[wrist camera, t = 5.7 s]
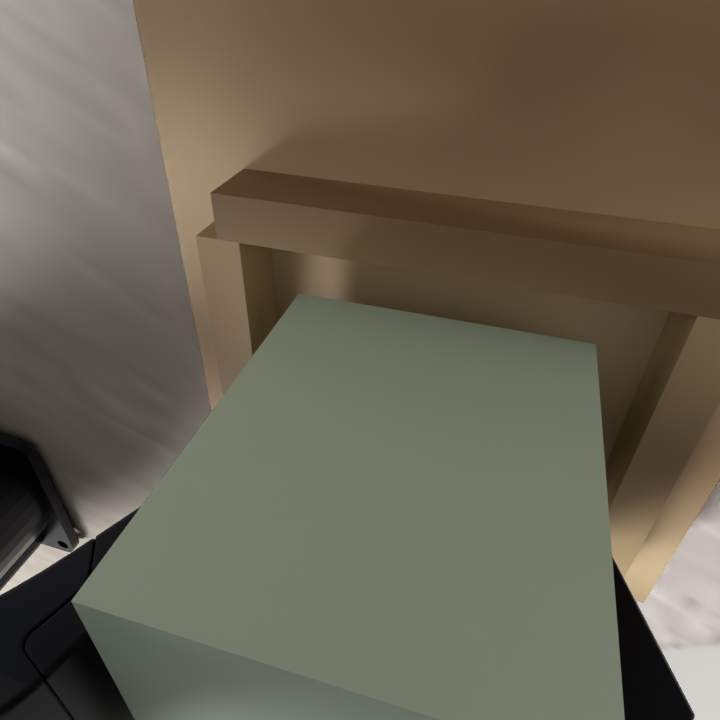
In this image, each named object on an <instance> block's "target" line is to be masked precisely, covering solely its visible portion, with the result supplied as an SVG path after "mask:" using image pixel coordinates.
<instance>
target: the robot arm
mask: <svg viewBox="0 0 720 720" xmlns="http://www.w3.org/2000/svg"><path fill="white" fill-rule="evenodd" d="M139 509H140V507H139V508H138V509H136V510H135V511H133V512H132V513H130V514H129V515H127V516H126V517H124V518H123V519H121V520H120V521H118V522H117V523H115V524H114V525H112V526H111V527H109V528H108V529H106V530H105V531H103V532H102V533H100V534H99V535H97V536H96V540H95V539H91V540H90V541H88V542H87V543H85V544H84V545H82V546H81V547H79V548H78V549H76V550H75V551H73V550H74V548H75V547H76V546H77V545H78V543H79V539H78V537H77V535H76V533H75V531H74V529H73V527H72V525H71V523H70V520H69V518H68V516H67V514H66V512H65V510H64V508H63V506H62V504H61V502H60V499H59V497H58V495H57V493H56V491H55V489H54V487H53V485H52V483H51V481H50V478H49V476H48V474H47V472H46V470H45V468H44V466H43V464H42V462H41V460H40V457H39V455H38V453H37V452H36V450H35V449H34V448H33V447H32V446H31V445H30V444H28V443H27V442H25V441H22V440H19V439H15V438H11V437H7V436H4V435H0V590H1V589H2V588H3V587H4V586H5V585H6V583H7V582H8V581H9V580H10V579H11V578H12V577H13V575H14V574H15V573H16V572H17V571H18V570H19V568H20V567H21V566H22V565H23V564H24V563H25V562H26V560H27V559H28V558H29V557H30V556H31V555H32V553H33V552H34V551H35V550H36V549H37V548H38V547H39V545H40V544H45V545H48V546H51V547H54V548H57V549H61V550H64V551H67V552H72V551H73V552H72V553H70V554H68V555H67V556H65V557H64V558H62V559H61V560H59V561H57V562H56V563H54V564H53V565H51V566H50V567H48V568H46V569H45V570H43V571H42V572H40V573H38V574H36V575H35V576H33V577H31V578H30V579H28V580H26V581H24V582H23V583H21V584H19V585H18V586H16V587H14V588H12V589H11V590H9V591H7V592H5V593H4V594H2V595H0V720H135V719H134V717H133V715H132V713H131V712H130V710H129V708H128V706H127V704H126V702H125V700H124V699H123V697H122V695H121V693H120V691H119V689H118V688H117V686H116V684H115V682H114V680H113V678H112V676H111V675H110V673H109V671H108V669H107V667H106V665H105V663H104V662H103V660H102V658H101V656H100V654H99V652H98V650H97V649H96V647H95V645H94V643H93V641H92V639H91V637H90V636H89V634H88V632H87V630H86V628H85V626H84V624H83V623H82V621H81V619H80V617H79V615H78V613H77V611H76V610H75V608H74V606H73V604H72V602H71V601H72V599H73V598H74V596H75V595H76V594H77V592H78V591H79V590H80V588H81V587H82V586H83V584H84V583H85V582H86V580H87V579H88V578H89V576H90V575H91V574H92V572H93V571H94V569H95V568H96V567H97V565H98V564H99V563H100V561H101V560H102V559H103V557H104V556H105V555H106V553H107V552H108V551H109V549H110V548H111V546H112V545H113V544H114V542H115V541H116V540H117V538H118V537H119V536H120V534H121V533H122V532H123V530H124V529H125V528H126V526H127V525H128V524H129V522H130V521H131V519H132V518H133V517H134V515H135V514H136V513H137V511H138V510H139ZM612 560H613V573H614V586H615V599H616V612H617V625H618V638H619V651H620V664H621V677H622V690H623V703H624V716H625V720H693V719H694V713H693V711H692V709H691V707H690V705H689V703H688V701H687V699H686V698H685V695H684V693H683V691H682V689H681V688H680V686H679V684H678V682H677V680H676V678H675V676H674V674H673V672H672V670H671V668H670V666H669V664H668V663H667V661H666V659H665V657H664V655H663V653H662V651H661V649H660V647H659V645H658V643H657V641H656V639H655V637H654V635H653V633H652V632H651V630H650V628H649V626H648V624H647V622H646V620H645V618H644V616H643V614H642V612H641V610H640V608H639V606H638V605H637V603H636V601H635V599H634V597H633V595H632V593H631V591H630V589H629V587H628V585H627V583H626V581H625V579H624V577H623V576H622V574H621V572H620V570H619V568H618V566H617V564H616V562H615V560H614V558H613V556H612Z"/></svg>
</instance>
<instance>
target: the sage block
mask: <svg viewBox="0 0 720 720" xmlns="http://www.w3.org/2000/svg"><path fill="white" fill-rule="evenodd" d="M71 602H72V604H73V606H74V608H75V610H76V611H77V613H78V615H79V617H80V619H81V621H82V623H83V624H84V626H85V628H86V630H87V632H88V634H89V636H90V637H91V639H92V641H93V643H94V645H95V647H96V649H97V650H98V652H99V654H100V656H101V658H102V660H103V662H104V663H105V665H106V667H107V669H108V671H109V673H110V675H111V676H112V678H113V680H114V682H115V684H116V686H117V688H118V689H119V691H120V693H121V695H122V697H123V699H124V700H125V702H126V704H127V706H128V708H129V710H130V712H131V713H132V715H133V717H134V719H135V720H625V716H624V703H623V690H622V677H621V664H620V651H619V638H618V625H617V612H616V599H615V586H614V573H613V560H612V547H611V534H610V521H609V508H608V495H607V482H606V469H605V456H604V443H603V430H602V417H601V404H600V391H599V378H598V365H597V352H596V344H593V343H587V342H581V341H576V340H570V339H564V338H558V337H552V336H546V335H540V334H535V333H529V332H523V331H517V330H511V329H505V328H500V327H494V326H488V325H482V324H476V323H470V322H465V321H459V320H453V319H447V318H441V317H435V316H430V315H424V314H418V313H412V312H406V311H400V310H394V309H389V308H383V307H377V306H371V305H365V304H359V303H354V302H348V301H342V300H336V299H330V298H324V297H319V296H313V295H307V294H301V293H299V294H298V295H297V297H296V298H295V299H294V301H293V302H292V303H291V305H290V306H289V307H288V309H287V310H286V311H285V313H284V314H283V316H282V317H281V318H280V320H279V321H278V322H277V324H276V325H275V326H274V328H273V329H272V330H271V332H270V333H269V334H268V336H267V337H266V338H265V340H264V341H263V343H262V344H261V345H260V347H259V348H258V349H257V351H256V352H255V353H254V355H253V356H252V357H251V359H250V360H249V361H248V363H247V364H246V366H245V367H244V368H243V370H242V371H241V372H240V374H239V375H238V376H237V378H236V379H235V380H234V382H233V383H232V384H231V386H230V387H229V388H228V390H227V391H226V393H225V394H224V395H223V397H222V398H221V399H220V401H219V402H218V403H217V405H216V406H215V407H214V409H213V410H212V411H211V413H210V414H209V415H208V417H207V418H206V420H205V421H204V422H203V424H202V425H201V426H200V428H199V429H198V430H197V432H196V433H195V434H194V436H193V437H192V438H191V440H190V441H189V442H188V444H187V445H186V447H185V448H184V449H183V451H182V452H181V453H180V455H179V456H178V457H177V459H176V460H175V461H174V463H173V464H172V465H171V467H170V468H169V470H168V471H167V472H166V474H165V475H164V476H163V478H162V479H161V480H160V482H159V483H158V484H157V486H156V487H155V488H154V490H153V491H152V492H151V494H150V495H149V497H148V498H147V499H146V501H145V502H144V503H143V505H142V506H141V507H140V509H139V510H138V511H137V513H136V514H135V515H134V517H133V518H132V519H131V521H130V522H129V524H128V525H127V526H126V528H125V529H124V530H123V532H122V533H121V534H120V536H119V537H118V538H117V540H116V541H115V542H114V544H113V545H112V546H111V548H110V549H109V551H108V552H107V553H106V555H105V556H104V557H103V559H102V560H101V561H100V563H99V564H98V565H97V567H96V568H95V569H94V571H93V572H92V574H91V575H90V576H89V578H88V579H87V580H86V582H85V583H84V584H83V586H82V587H81V588H80V590H79V591H78V592H77V594H76V595H75V596H74V598H73V599H72V601H71Z"/></svg>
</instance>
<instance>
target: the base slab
mask: <svg viewBox="0 0 720 720" xmlns="http://www.w3.org/2000/svg"><path fill="white" fill-rule="evenodd" d="M133 4H134V9H135V15H136V20H137V25H138V30H139V35H140V41H141V46H142V51H143V56H144V62H145V67H146V72H147V77H148V82H149V88H150V93H151V98H152V103H153V109H154V114H155V119H156V124H157V129H158V135H159V140H160V145H161V150H162V156H163V161H164V166H165V171H166V176H167V182H168V187H169V192H170V197H171V203H172V208H173V213H174V218H175V223H176V229H177V234H178V239H179V244H180V250H181V255H182V260H183V265H184V270H185V276H186V281H187V286H188V291H189V297H190V302H191V307H192V312H193V317H194V323H195V328H196V333H197V338H198V344H199V349H200V354H201V359H202V364H203V370H204V375H205V380H206V385H207V390H208V396H209V401H210V406H211V411H212V410H213V409H214V407H215V406H216V405H217V403H218V402H219V401H220V399H221V398H222V397H223V395H224V394H225V393H226V391H227V390H228V388H229V387H230V386H231V384H232V383H233V382H234V380H235V379H236V378H237V376H238V375H239V374H240V372H241V371H242V370H243V368H244V367H245V366H246V364H247V363H248V361H249V360H250V359H251V357H252V356H253V355H254V353H255V352H256V351H257V349H258V348H259V347H260V345H261V344H262V343H263V341H264V340H265V338H266V337H267V336H268V334H269V333H270V332H271V330H272V329H273V328H274V326H275V325H276V324H277V322H278V321H279V320H280V318H281V317H282V316H283V314H284V313H285V311H286V310H287V309H288V307H289V306H290V305H291V303H292V302H293V301H294V299H295V298H296V297H297V295H298V294H299V293H301V294H307V295H313V296H319V297H324V298H330V299H336V300H342V301H348V302H354V303H359V304H365V305H371V306H377V307H383V308H389V309H394V310H400V311H406V312H412V313H418V314H424V315H430V316H435V317H441V318H447V319H453V320H459V321H465V322H470V323H476V324H482V325H488V326H494V327H500V328H505V329H511V330H517V331H523V332H529V333H535V334H540V335H546V336H552V337H558V338H564V339H570V340H576V341H581V342H587V343H593V344H596V352H597V365H598V378H599V391H600V404H601V417H602V430H603V443H604V456H605V469H606V482H607V495H608V508H609V521H610V534H611V547H612V556H613V558H614V560H615V562H616V564H617V566H618V568H619V570H620V572H621V574H622V576H623V577H624V579H625V581H626V583H627V585H628V587H629V589H630V591H631V593H632V595H633V597H634V599H635V600H636V601H640V602H643V603H644V601H645V599H646V598H647V596H648V595H649V593H650V591H651V590H652V588H653V586H654V585H655V583H656V582H657V580H658V578H659V577H660V575H661V573H662V572H663V570H664V569H665V567H666V565H667V564H668V562H669V560H670V559H671V557H672V556H673V554H674V552H675V551H676V549H677V547H678V546H679V544H680V543H681V541H682V539H683V538H684V536H685V534H686V533H687V531H688V530H689V528H690V526H691V525H692V523H693V521H694V520H695V518H696V517H697V515H698V513H699V512H700V510H701V508H702V507H703V505H704V504H705V502H706V500H707V499H708V497H709V495H710V494H711V492H712V491H713V489H714V487H715V486H716V484H717V482H718V481H719V479H720V0H133Z"/></svg>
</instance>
